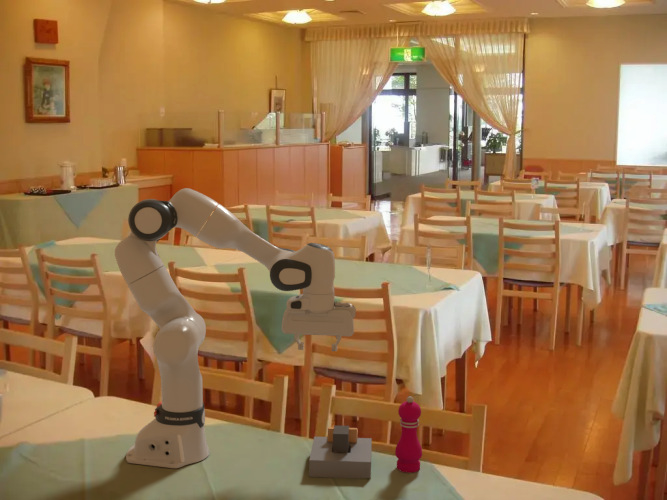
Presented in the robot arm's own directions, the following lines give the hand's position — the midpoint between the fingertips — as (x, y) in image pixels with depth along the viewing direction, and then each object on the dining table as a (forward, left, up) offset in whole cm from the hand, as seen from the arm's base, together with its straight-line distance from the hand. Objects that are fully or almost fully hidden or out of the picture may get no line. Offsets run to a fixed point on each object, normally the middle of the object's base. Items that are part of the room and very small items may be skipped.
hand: (317, 349), depth 227 cm
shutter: (+8, -4, -24) cm, 25 cm away
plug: (+7, -12, -28) cm, 32 cm away
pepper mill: (+26, -13, -29) cm, 41 cm away
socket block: (+8, -12, -28) cm, 32 cm away
